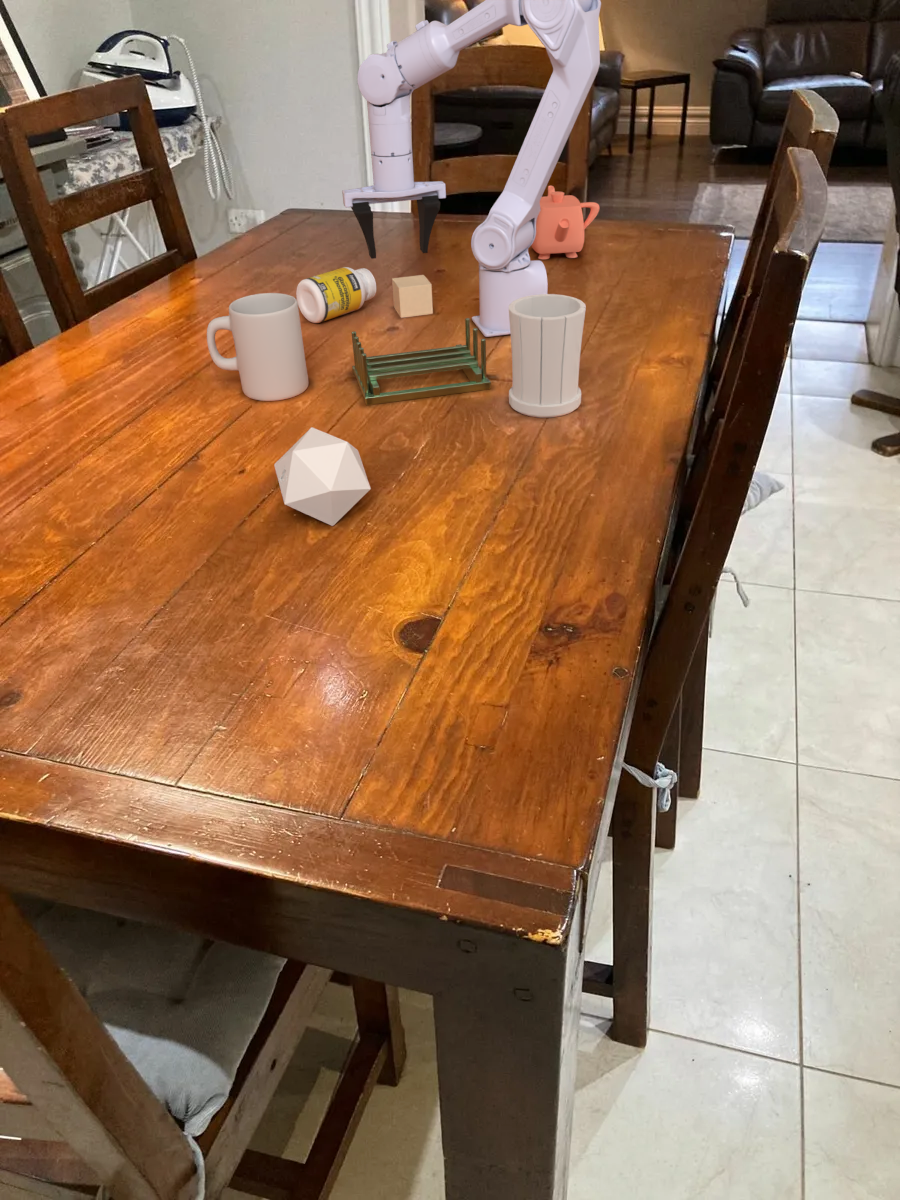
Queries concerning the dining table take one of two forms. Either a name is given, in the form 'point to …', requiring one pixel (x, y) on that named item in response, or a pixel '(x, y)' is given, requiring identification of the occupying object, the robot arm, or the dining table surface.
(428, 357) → the dish rack
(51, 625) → the dining table surface
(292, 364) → the mug
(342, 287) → the pill bottle
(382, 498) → the dining table surface
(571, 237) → the teapot
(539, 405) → the cup
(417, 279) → the box
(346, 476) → the die
